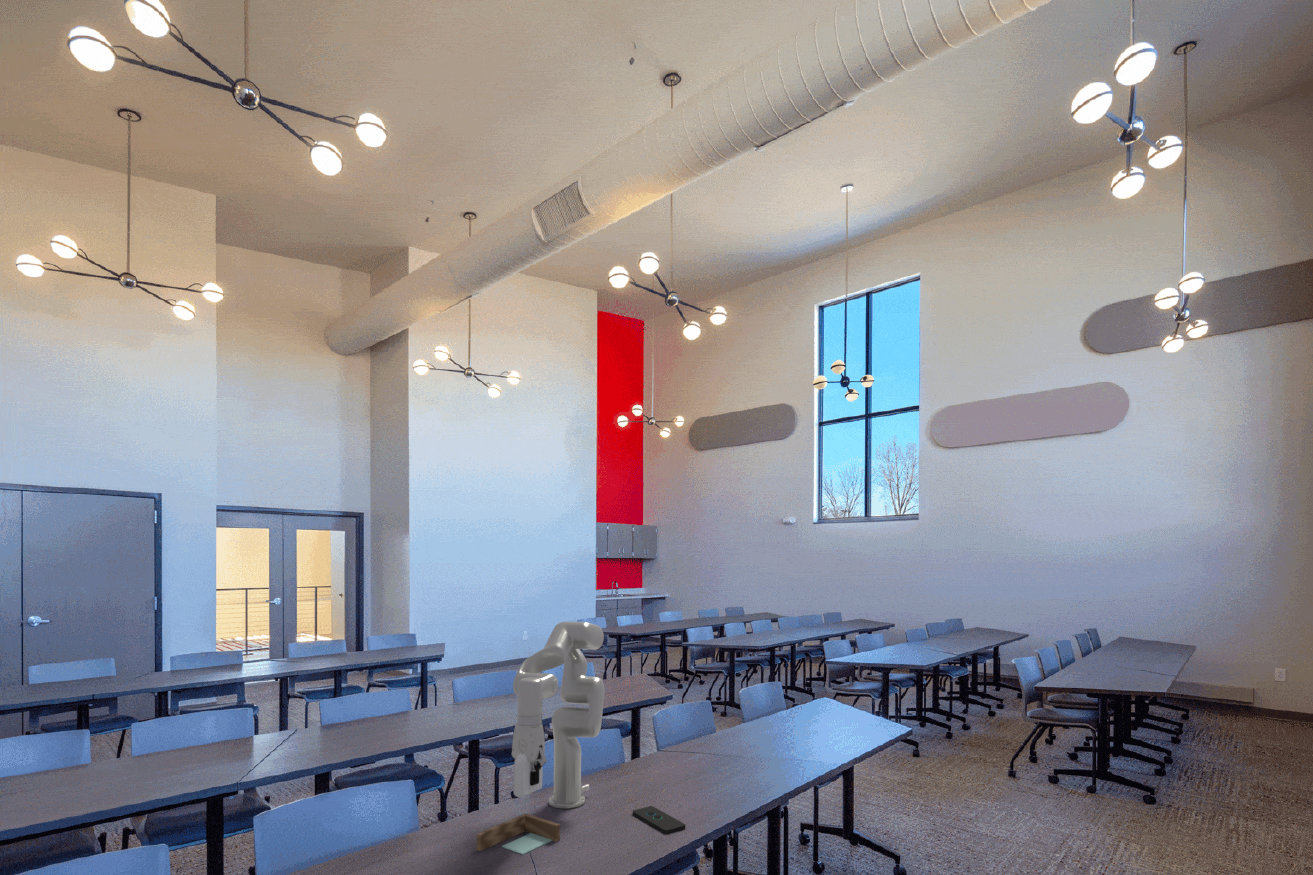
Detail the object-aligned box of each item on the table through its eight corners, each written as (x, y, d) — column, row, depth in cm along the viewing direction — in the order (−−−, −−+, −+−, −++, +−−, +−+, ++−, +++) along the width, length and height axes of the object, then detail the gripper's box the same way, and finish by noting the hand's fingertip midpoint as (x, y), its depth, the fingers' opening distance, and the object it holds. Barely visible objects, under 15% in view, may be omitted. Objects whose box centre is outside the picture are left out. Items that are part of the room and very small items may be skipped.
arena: (525, 828, 226) (525, 813, 226) (559, 839, 217) (559, 824, 218) (476, 849, 210) (477, 833, 211) (511, 863, 201) (511, 846, 202)
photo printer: (533, 785, 222) (534, 744, 224) (544, 788, 220) (545, 746, 221) (511, 796, 213) (512, 752, 215) (522, 798, 211) (523, 754, 213)
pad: (531, 833, 222) (531, 832, 222) (552, 840, 217) (552, 839, 217) (501, 846, 212) (501, 845, 212) (522, 854, 207) (522, 853, 207)
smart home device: (652, 804, 242) (686, 824, 226) (652, 810, 242) (686, 830, 225) (631, 810, 237) (665, 830, 221) (631, 815, 237) (665, 836, 221)
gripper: (501, 718, 221) (500, 780, 219) (540, 726, 211) (539, 791, 209) (519, 713, 227) (518, 774, 225) (558, 721, 217) (557, 784, 215)
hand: (528, 781), depth 217 cm, fingers closed on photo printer, 4 cm apart
